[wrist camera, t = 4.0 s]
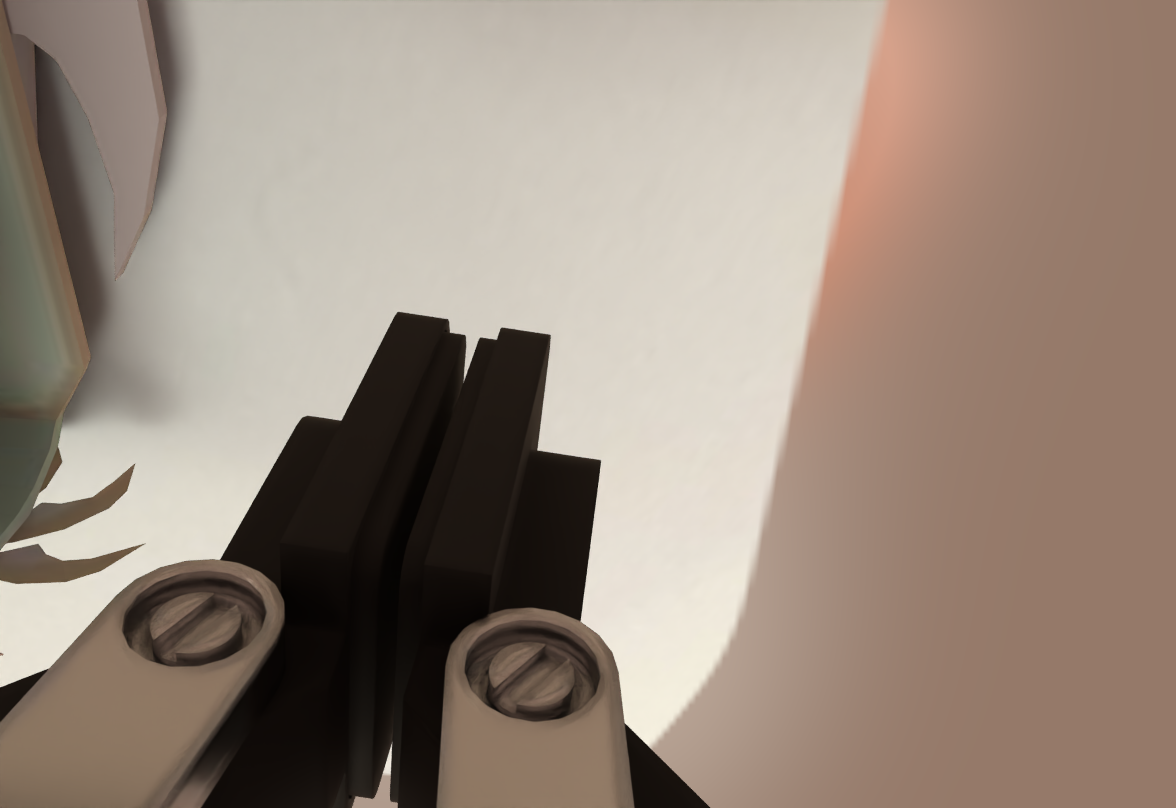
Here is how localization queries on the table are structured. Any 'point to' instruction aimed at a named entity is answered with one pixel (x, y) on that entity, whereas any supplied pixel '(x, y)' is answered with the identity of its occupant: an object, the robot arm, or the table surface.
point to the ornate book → (62, 248)
